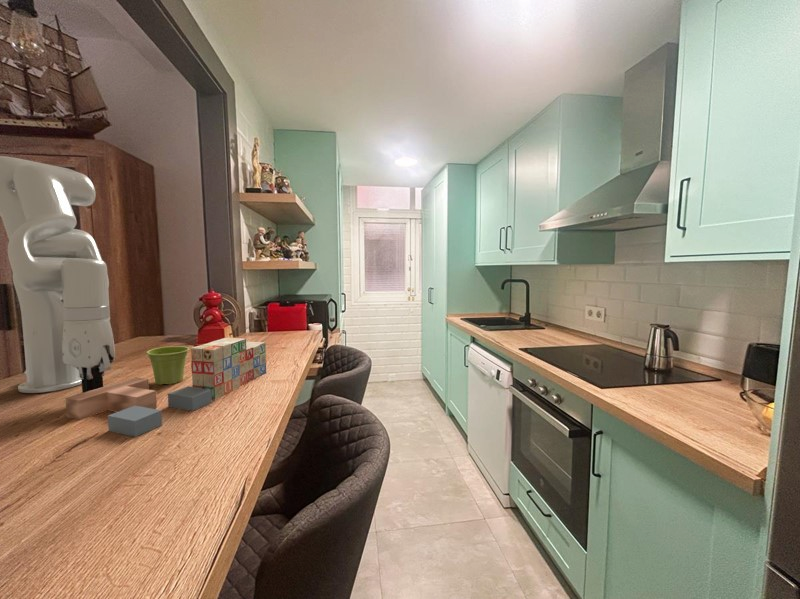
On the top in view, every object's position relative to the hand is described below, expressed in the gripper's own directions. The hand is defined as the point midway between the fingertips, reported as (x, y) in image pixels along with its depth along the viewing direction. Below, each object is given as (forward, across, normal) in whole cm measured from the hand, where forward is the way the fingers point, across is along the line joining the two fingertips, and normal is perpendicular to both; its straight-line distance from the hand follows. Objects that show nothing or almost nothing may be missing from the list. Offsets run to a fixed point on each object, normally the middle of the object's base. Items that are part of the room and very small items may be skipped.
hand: (93, 394), depth 77 cm
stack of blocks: (+2, +20, +21) cm, 29 cm away
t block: (+2, +10, 0) cm, 10 cm away
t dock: (+2, +21, 0) cm, 22 cm away
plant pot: (+2, +3, +16) cm, 16 cm away
